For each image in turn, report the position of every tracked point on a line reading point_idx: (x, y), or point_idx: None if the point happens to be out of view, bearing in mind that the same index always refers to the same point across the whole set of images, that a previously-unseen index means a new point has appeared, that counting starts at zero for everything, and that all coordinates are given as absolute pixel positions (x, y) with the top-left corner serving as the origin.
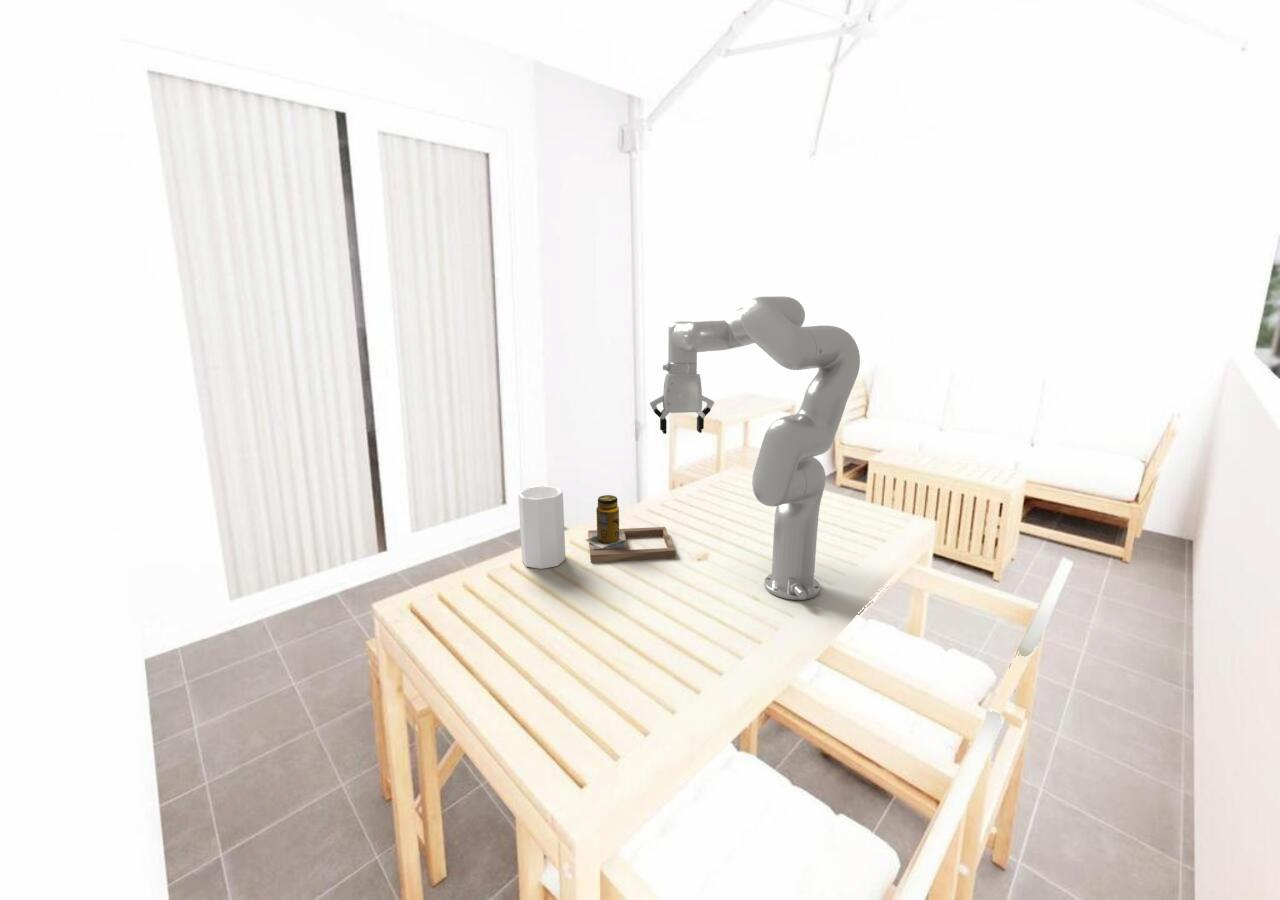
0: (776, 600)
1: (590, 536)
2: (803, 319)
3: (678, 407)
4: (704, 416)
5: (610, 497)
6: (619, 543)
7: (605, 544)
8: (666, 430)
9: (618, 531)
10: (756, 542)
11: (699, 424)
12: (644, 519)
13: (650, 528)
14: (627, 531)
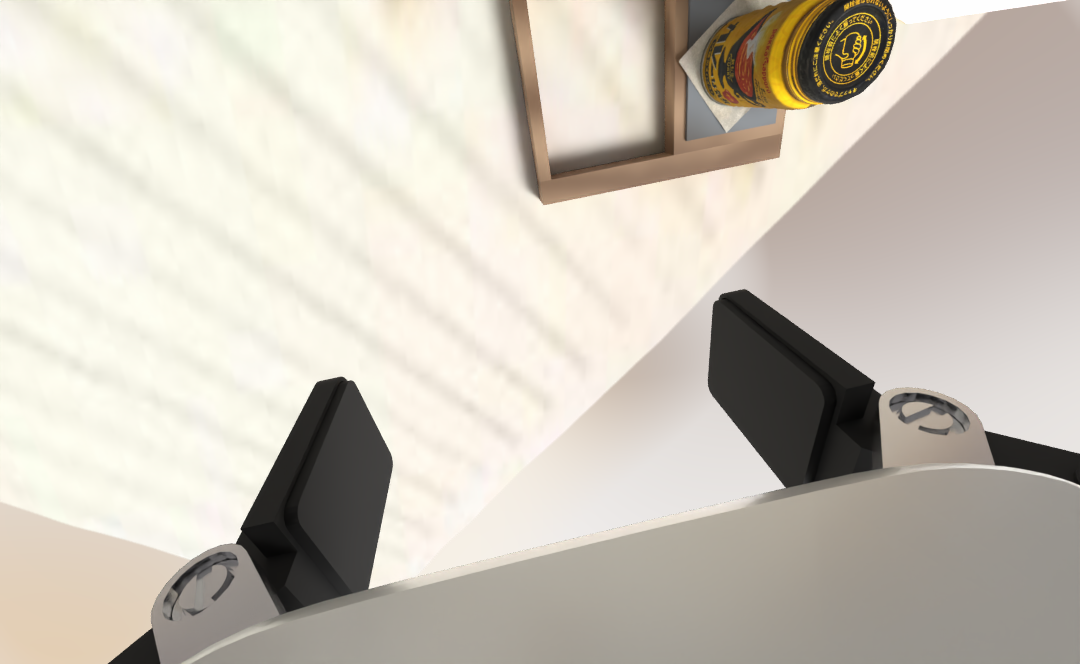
0: None
1: None
2: None
3: (836, 637)
4: (187, 585)
5: (836, 64)
6: (703, 22)
7: (751, 8)
8: (732, 312)
9: (721, 46)
10: (219, 133)
11: (318, 446)
12: (597, 302)
13: (590, 186)
14: (663, 156)
